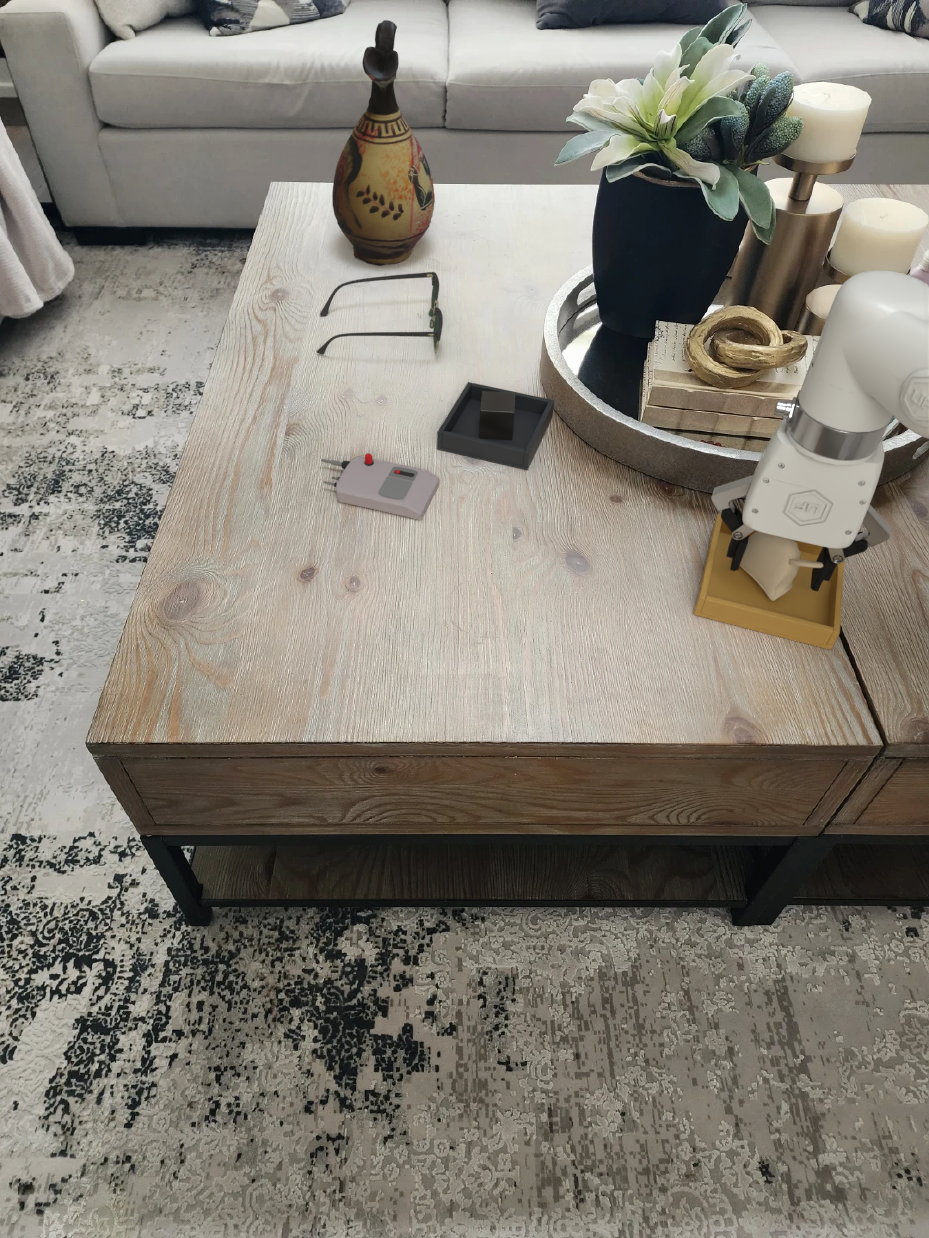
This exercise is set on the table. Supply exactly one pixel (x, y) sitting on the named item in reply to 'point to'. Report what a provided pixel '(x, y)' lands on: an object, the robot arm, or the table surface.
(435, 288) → the sunglasses
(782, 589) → the decorative ornament
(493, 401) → the black block
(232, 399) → the table surface
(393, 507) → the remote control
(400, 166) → the ceramic jug
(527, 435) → the charcoal tray
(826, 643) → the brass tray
